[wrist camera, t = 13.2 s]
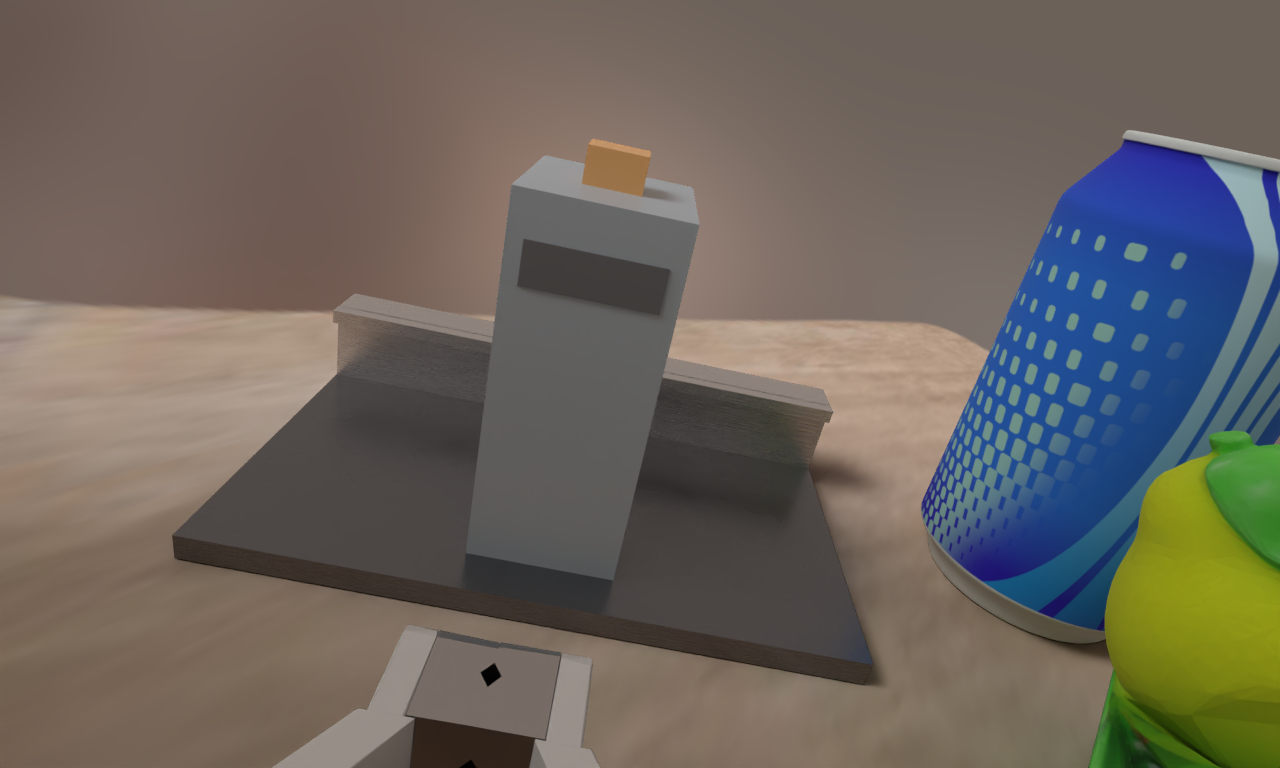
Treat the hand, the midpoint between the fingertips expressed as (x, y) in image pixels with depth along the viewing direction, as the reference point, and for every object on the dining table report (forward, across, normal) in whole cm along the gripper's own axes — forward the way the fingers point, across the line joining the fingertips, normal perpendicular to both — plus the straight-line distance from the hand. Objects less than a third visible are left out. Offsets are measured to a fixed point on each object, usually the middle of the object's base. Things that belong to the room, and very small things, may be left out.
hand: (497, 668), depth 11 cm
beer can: (+14, -18, +6) cm, 24 cm away
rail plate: (+14, 0, +6) cm, 15 cm away
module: (+11, 0, +5) cm, 12 cm away
